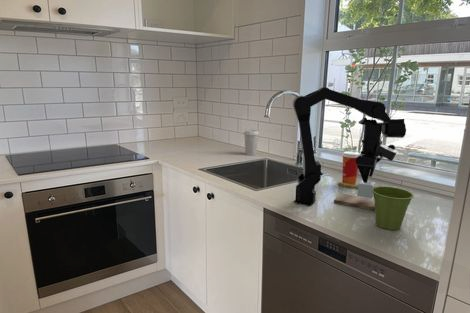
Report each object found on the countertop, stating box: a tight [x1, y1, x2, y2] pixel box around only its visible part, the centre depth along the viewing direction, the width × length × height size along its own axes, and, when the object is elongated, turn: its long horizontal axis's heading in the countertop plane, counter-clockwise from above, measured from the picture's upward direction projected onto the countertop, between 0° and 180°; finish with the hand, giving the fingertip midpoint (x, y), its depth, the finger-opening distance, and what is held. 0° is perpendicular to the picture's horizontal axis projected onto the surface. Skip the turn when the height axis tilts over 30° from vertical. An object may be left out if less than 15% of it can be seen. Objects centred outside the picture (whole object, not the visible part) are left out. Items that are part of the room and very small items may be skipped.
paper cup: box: [341, 151, 361, 185], centre depth 147 cm, size 8×8×14 cm
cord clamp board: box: [333, 182, 380, 212], centre depth 123 cm, size 18×9×8 cm, turn 58°
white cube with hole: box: [356, 179, 376, 199], centre depth 122 cm, size 5×5×5 cm
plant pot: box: [372, 185, 415, 231], centre depth 104 cm, size 12×12×11 cm
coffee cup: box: [243, 129, 260, 156], centre depth 206 cm, size 10×10×15 cm
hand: (367, 179), depth 121 cm, fingers open, 9 cm apart
